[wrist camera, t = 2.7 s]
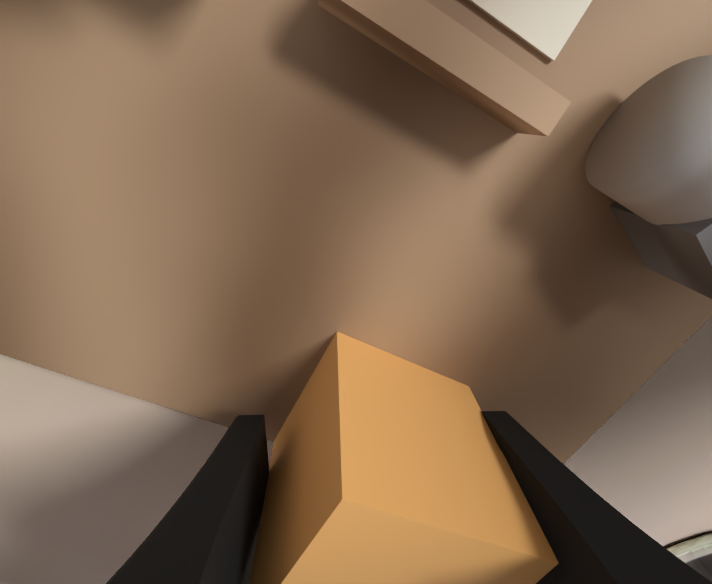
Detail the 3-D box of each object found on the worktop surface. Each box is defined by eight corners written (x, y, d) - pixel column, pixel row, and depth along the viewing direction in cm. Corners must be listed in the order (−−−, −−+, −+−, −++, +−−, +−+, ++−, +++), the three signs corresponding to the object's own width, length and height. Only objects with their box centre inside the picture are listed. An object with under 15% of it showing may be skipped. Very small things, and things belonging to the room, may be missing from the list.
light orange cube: (469, 386, 10) (558, 563, 6) (395, 480, 12) (429, 675, 8) (336, 331, 9) (342, 499, 5) (273, 441, 11) (239, 641, 7)
